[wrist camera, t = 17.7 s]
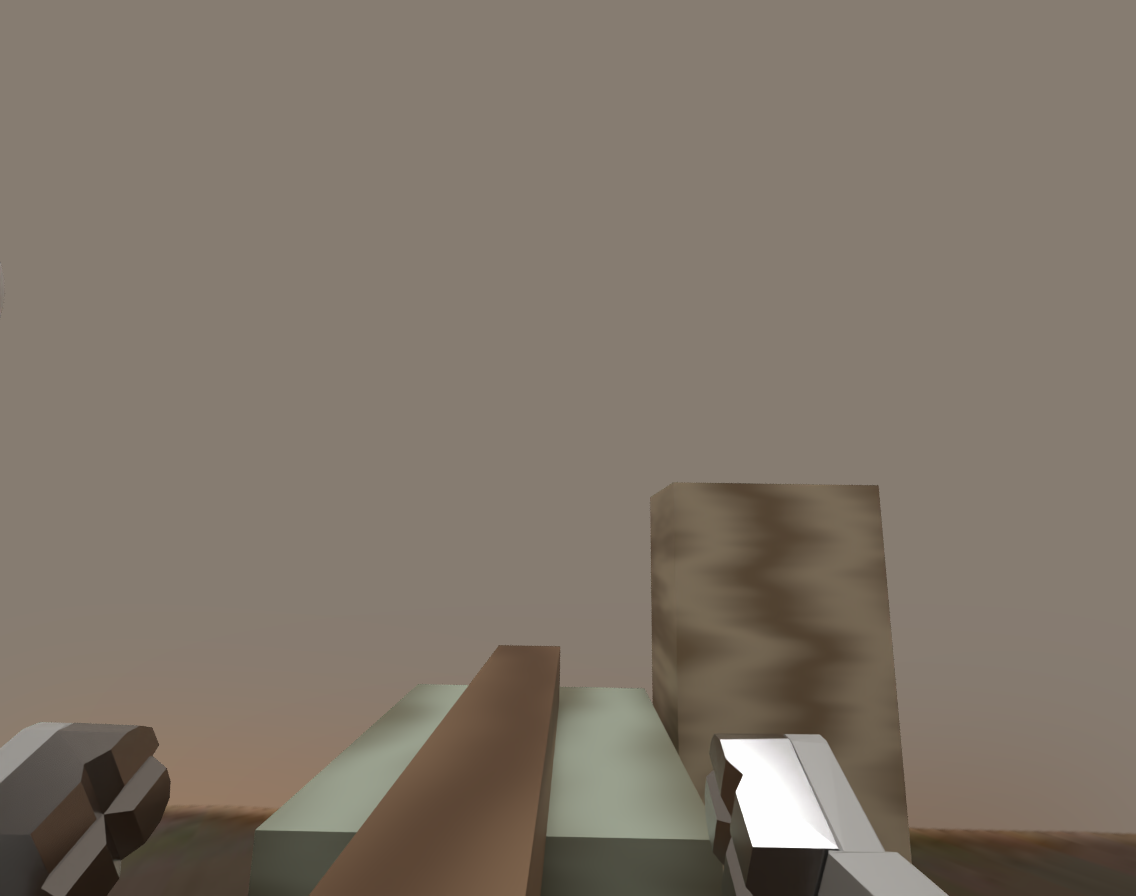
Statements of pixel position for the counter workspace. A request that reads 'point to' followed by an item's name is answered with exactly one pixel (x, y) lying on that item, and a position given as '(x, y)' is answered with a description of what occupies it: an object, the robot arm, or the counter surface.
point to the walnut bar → (467, 794)
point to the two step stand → (674, 699)
